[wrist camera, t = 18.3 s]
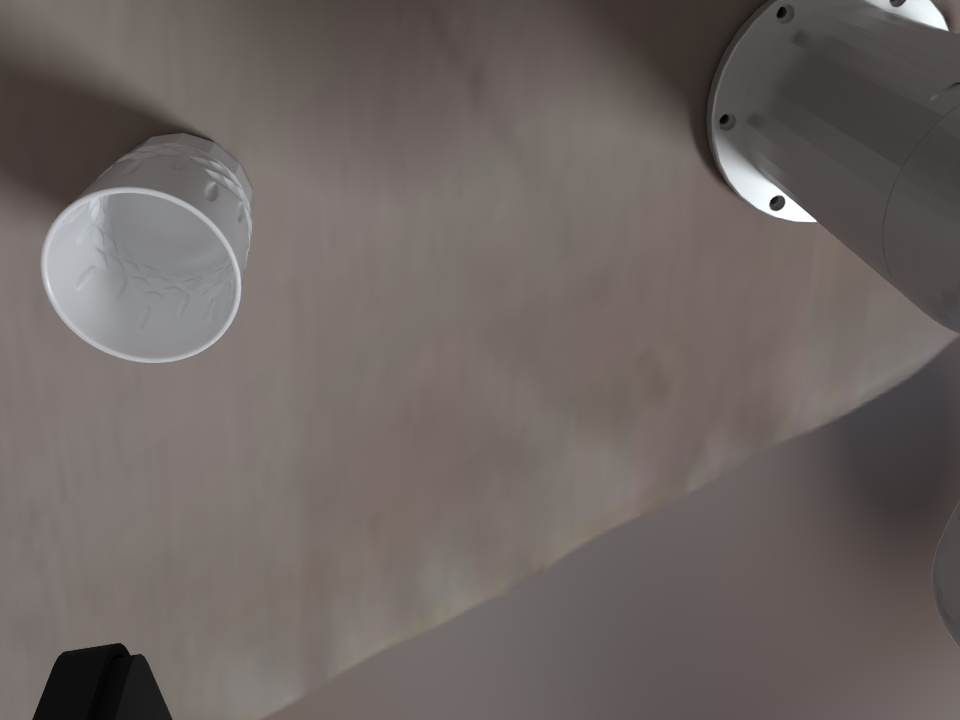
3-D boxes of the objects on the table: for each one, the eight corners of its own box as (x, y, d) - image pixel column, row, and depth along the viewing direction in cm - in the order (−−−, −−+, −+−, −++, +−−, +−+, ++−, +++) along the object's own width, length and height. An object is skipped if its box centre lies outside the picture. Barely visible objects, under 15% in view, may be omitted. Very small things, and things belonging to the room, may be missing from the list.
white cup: (73, 152, 44) (-1, 227, 35) (222, 96, 43) (184, 158, 35) (153, 289, 48) (104, 387, 39) (291, 240, 47) (272, 328, 39)
